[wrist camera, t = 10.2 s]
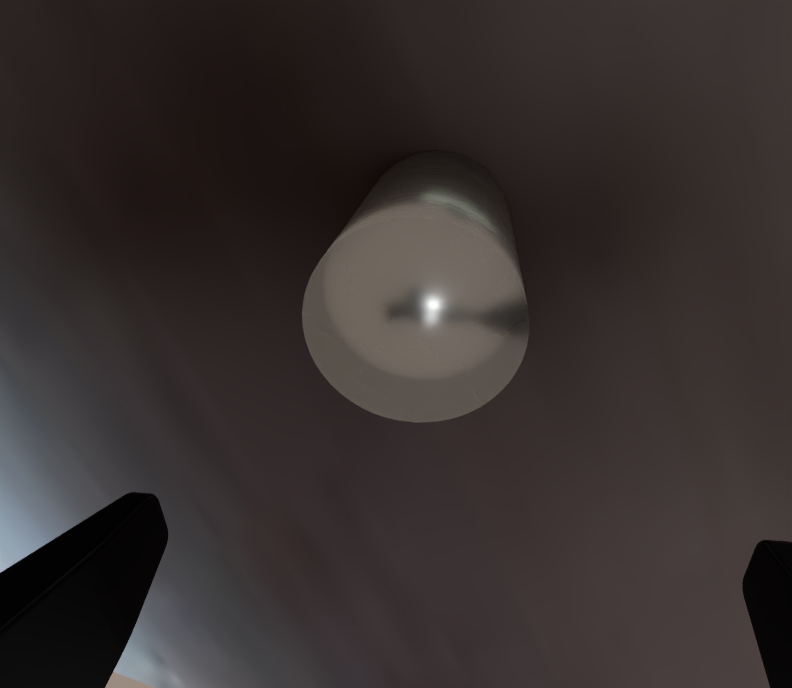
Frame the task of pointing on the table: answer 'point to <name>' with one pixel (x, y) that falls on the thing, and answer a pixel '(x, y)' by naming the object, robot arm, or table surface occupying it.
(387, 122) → the table surface
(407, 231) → the gray cylinder
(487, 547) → the table surface
